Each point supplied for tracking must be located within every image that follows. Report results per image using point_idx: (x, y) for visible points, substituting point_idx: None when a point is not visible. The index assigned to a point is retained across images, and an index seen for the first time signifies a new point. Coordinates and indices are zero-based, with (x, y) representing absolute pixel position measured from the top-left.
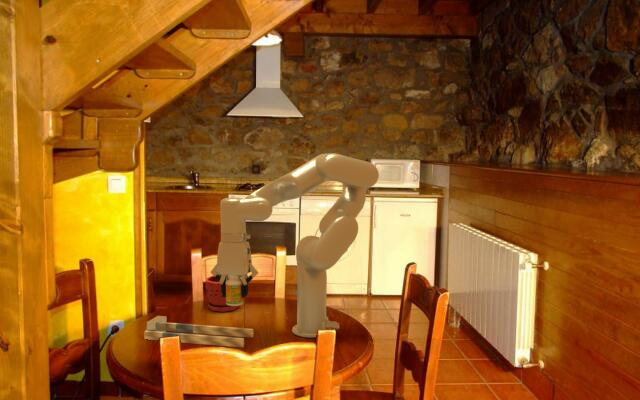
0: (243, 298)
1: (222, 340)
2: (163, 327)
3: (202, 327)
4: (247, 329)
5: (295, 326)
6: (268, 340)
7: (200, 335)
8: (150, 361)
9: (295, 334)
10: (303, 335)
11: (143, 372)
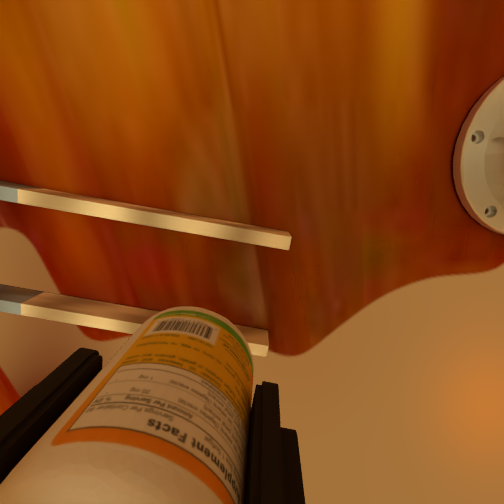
0: (251, 391)
1: None
2: None
3: (66, 209)
4: (266, 244)
5: (480, 127)
6: (349, 267)
7: (99, 323)
8: None
9: (462, 203)
10: (496, 232)
11: None
